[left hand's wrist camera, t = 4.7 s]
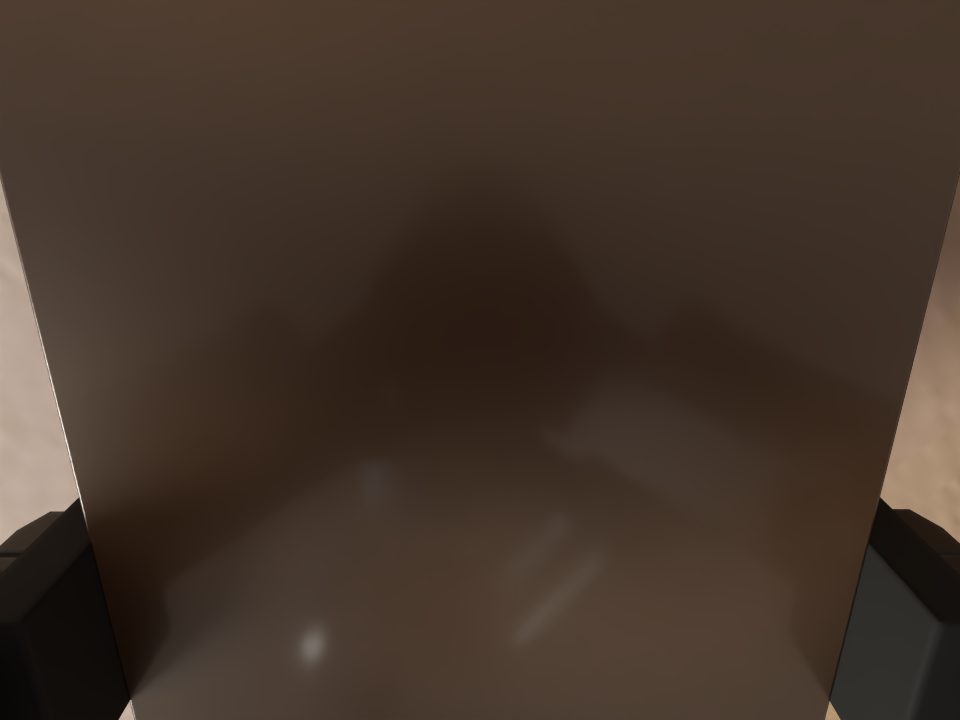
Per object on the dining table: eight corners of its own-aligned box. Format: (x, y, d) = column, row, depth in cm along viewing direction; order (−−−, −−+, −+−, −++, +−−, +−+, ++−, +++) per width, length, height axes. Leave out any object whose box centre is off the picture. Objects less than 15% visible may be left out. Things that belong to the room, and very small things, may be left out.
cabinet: (233, -237, 14) (-291, -979, 4) (725, -237, 14) (1248, -976, 4) (308, 471, 19) (152, 799, 10) (651, 471, 19) (807, 799, 10)
